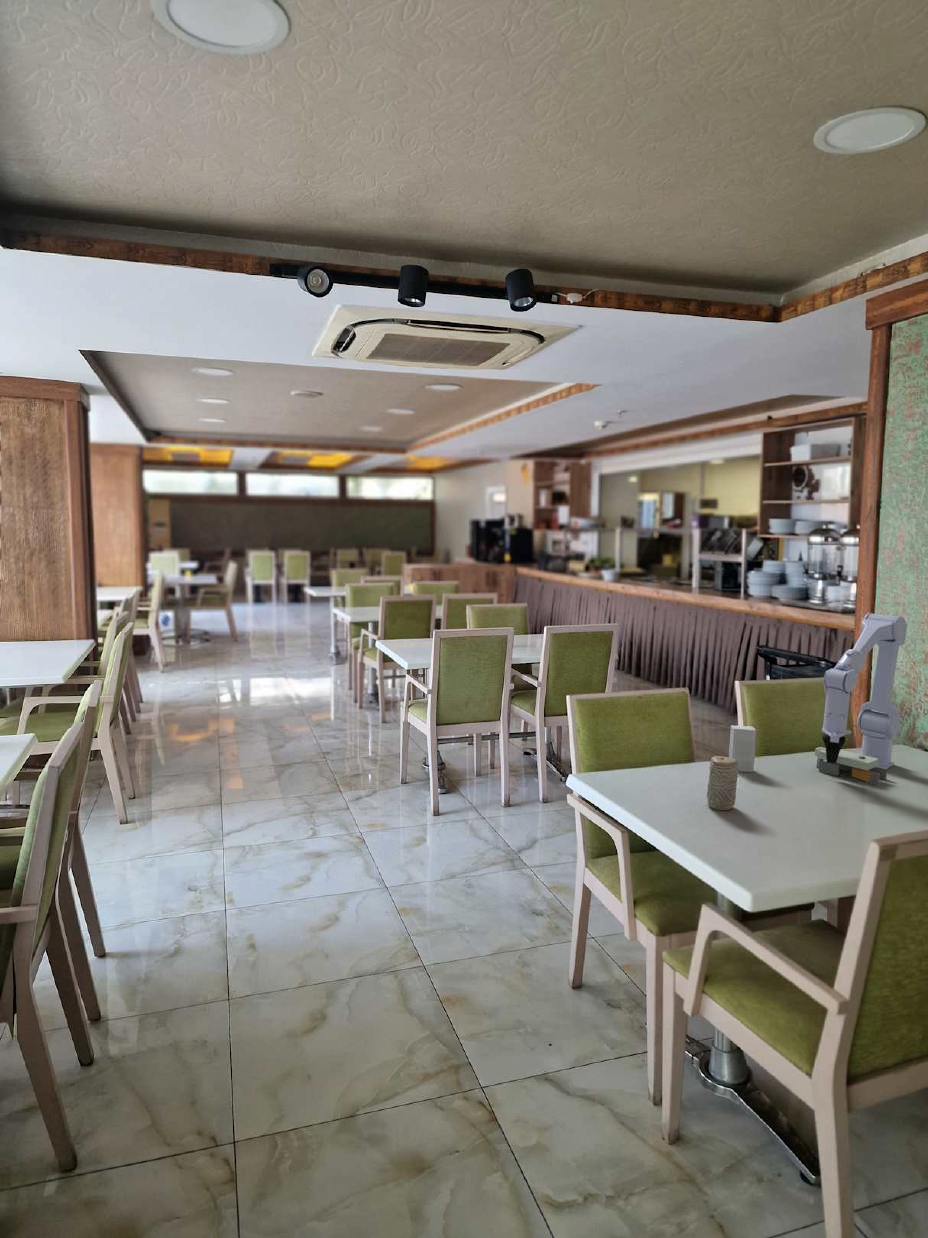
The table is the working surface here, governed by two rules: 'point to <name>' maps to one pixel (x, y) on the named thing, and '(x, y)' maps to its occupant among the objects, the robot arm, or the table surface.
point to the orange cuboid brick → (861, 774)
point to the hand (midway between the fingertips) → (831, 762)
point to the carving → (722, 783)
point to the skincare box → (743, 747)
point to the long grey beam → (834, 770)
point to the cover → (848, 759)
